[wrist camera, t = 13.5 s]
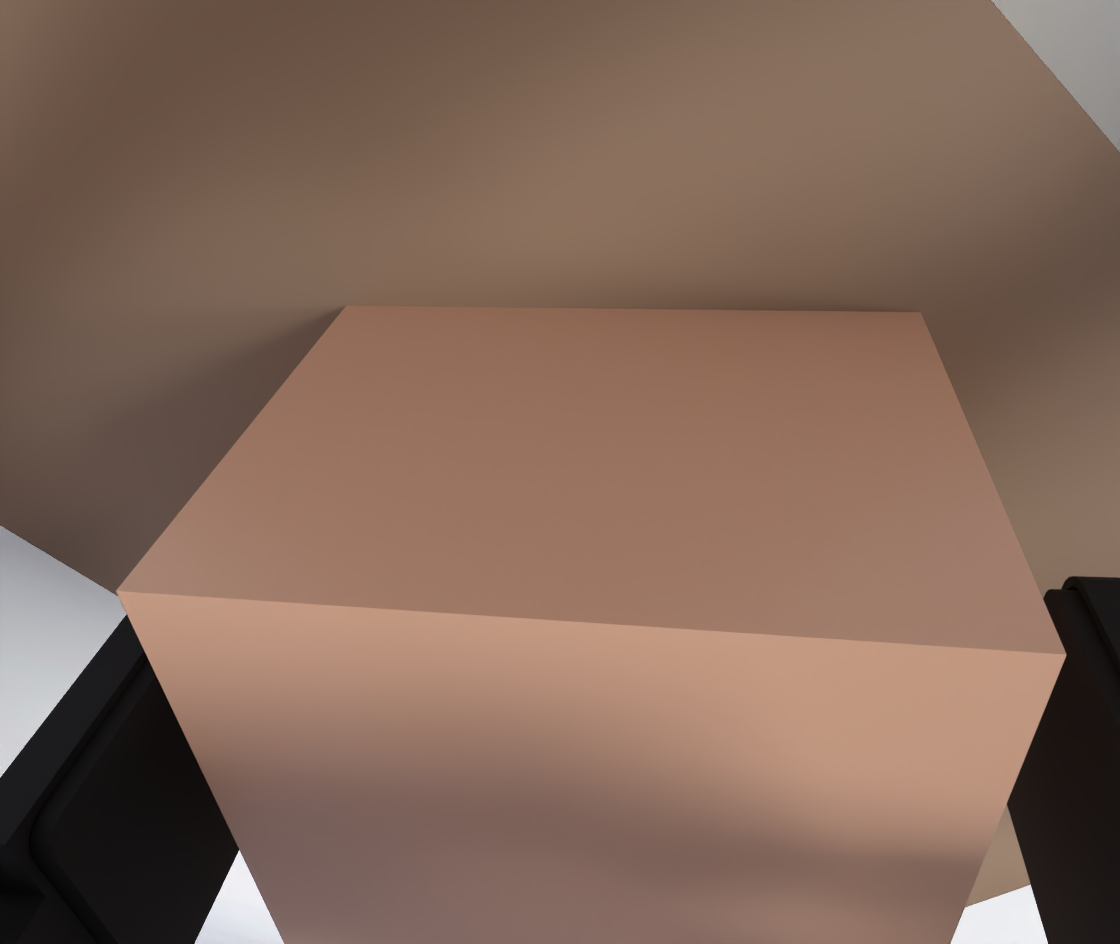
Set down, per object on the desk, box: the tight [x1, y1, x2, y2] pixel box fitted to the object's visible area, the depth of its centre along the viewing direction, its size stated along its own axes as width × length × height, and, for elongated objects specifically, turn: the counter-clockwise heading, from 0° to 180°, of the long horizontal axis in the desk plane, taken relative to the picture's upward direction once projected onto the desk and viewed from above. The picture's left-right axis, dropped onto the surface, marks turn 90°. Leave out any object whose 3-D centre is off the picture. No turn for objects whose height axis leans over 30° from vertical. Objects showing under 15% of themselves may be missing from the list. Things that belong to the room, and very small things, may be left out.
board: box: [0, 0, 1120, 907], centre depth 11 cm, size 20×14×5 cm
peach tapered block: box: [116, 306, 1067, 944], centre depth 10 cm, size 7×7×5 cm
